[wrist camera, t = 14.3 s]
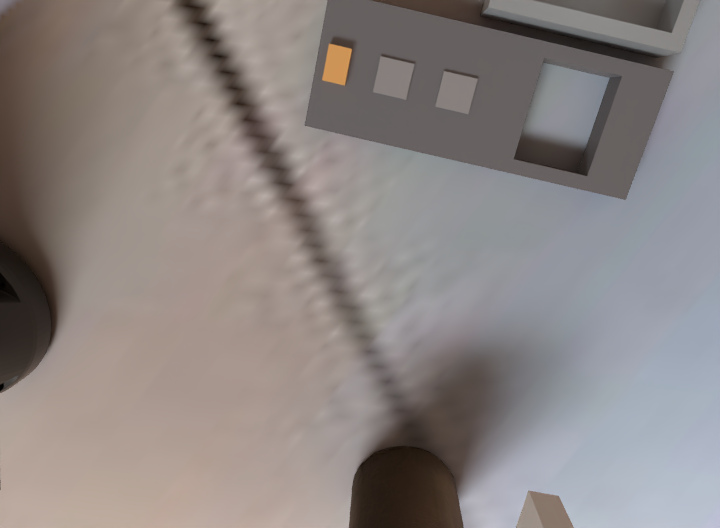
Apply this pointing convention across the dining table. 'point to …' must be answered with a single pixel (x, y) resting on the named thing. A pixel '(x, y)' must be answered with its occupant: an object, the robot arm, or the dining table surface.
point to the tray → (605, 21)
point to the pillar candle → (404, 492)
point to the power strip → (470, 92)
